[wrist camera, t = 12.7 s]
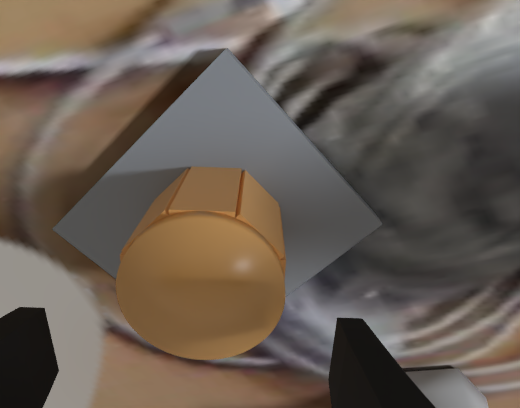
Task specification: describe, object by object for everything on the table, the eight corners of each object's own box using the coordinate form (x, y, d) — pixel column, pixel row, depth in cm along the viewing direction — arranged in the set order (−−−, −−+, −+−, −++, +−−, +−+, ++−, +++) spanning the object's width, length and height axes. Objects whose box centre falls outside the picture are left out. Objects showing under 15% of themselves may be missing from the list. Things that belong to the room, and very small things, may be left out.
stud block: (227, 48, 14) (213, 52, 10) (376, 213, 17) (414, 272, 12) (63, 218, 17) (-2, 278, 12) (213, 337, 19) (199, 420, 15)
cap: (304, 229, 16) (320, 299, 11) (217, 297, 17) (203, 383, 13) (216, 140, 14) (198, 183, 10) (129, 223, 16) (81, 292, 11)
